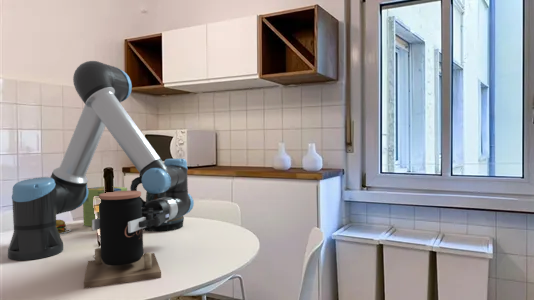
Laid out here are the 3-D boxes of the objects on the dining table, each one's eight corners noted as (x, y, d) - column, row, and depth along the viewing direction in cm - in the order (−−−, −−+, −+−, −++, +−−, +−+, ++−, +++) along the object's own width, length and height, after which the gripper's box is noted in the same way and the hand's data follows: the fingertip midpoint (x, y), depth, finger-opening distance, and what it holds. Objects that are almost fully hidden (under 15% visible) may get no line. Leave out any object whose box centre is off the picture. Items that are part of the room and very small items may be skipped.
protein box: (108, 229, 158) (106, 190, 157) (83, 225, 165) (81, 188, 165) (128, 224, 167) (127, 187, 167) (104, 220, 175) (103, 185, 174)
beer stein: (190, 228, 157) (189, 165, 156) (141, 235, 146) (139, 168, 146) (175, 221, 171) (173, 163, 170) (129, 227, 160) (127, 165, 159)
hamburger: (66, 237, 148) (66, 222, 148) (34, 238, 148) (33, 223, 148) (81, 230, 160) (80, 216, 160) (51, 230, 160) (50, 217, 160)
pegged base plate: (84, 288, 95) (83, 265, 95) (88, 266, 112) (87, 246, 112) (161, 277, 102) (160, 256, 101) (154, 258, 118) (153, 239, 118)
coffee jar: (130, 267, 100) (127, 196, 100) (92, 265, 102) (89, 196, 102) (150, 254, 111) (148, 190, 110) (116, 253, 113) (114, 190, 112)
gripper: (193, 224, 120) (149, 243, 99) (129, 221, 127) (76, 238, 106) (192, 199, 119) (148, 213, 99) (128, 197, 127) (75, 210, 106)
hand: (110, 226), depth 102 cm, fingers closed on coffee jar, 11 cm apart
